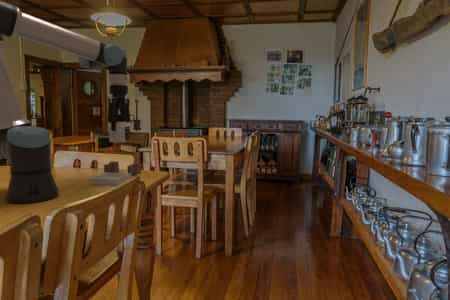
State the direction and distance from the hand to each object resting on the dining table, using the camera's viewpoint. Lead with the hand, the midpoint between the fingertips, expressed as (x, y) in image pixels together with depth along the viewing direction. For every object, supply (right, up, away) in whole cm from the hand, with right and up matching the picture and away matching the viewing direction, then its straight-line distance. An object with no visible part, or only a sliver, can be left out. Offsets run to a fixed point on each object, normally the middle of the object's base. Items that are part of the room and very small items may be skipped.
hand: (120, 137), depth 143 cm
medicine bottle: (0, -2, 0) cm, 2 cm away
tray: (0, -18, -10) cm, 21 cm away
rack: (0, -17, +3) cm, 17 cm away
